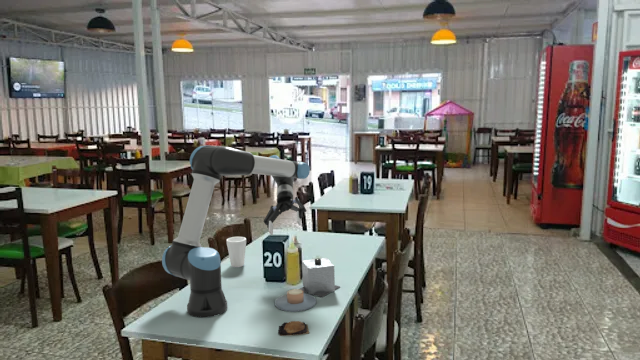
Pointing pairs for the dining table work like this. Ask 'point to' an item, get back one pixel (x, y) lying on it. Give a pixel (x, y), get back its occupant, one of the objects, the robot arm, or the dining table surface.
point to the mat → (319, 293)
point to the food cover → (318, 275)
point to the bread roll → (293, 328)
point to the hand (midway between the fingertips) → (284, 228)
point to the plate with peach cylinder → (295, 301)
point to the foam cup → (236, 250)
